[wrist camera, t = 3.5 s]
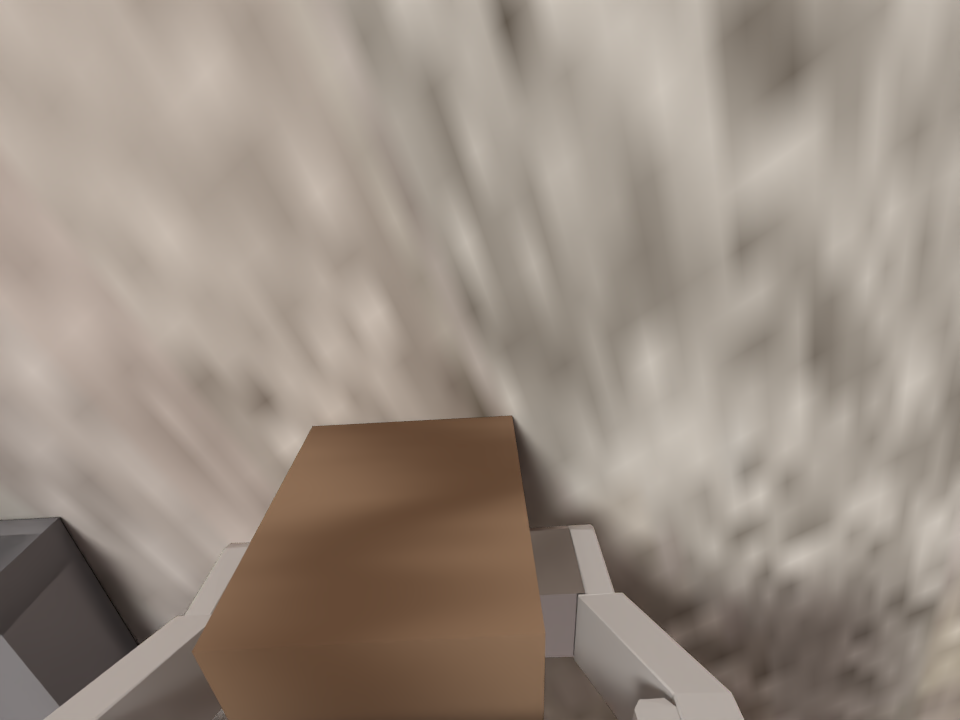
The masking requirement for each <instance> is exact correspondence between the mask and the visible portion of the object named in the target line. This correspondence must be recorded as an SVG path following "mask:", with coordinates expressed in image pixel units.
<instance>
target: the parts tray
mask: <svg viewBox="0 0 960 720" xmlns="http://www.w3.org/2000/svg"><path fill="white" fill-rule="evenodd" d="M137 646H138V645H137V644H136V642H135V640H134V639H133V637H132V635H131V634H130V632H129V631H128V629H127V627H126V626H125V624H124V622H123V621H122V619H121V618H120V616H119V614H118V613H117V611H116V610H115V608H114V606H113V605H112V603H111V601H110V600H109V598H108V597H107V595H106V593H105V592H104V590H103V588H102V587H101V585H100V584H99V582H98V580H97V579H96V577H95V575H94V574H93V572H92V571H91V569H90V567H89V566H88V564H87V563H86V561H85V559H84V558H83V556H82V554H81V553H80V551H79V550H78V548H77V546H76V545H75V543H74V541H73V540H72V538H71V537H70V535H69V533H68V532H67V530H66V528H65V527H64V525H63V524H62V522H61V520H60V519H59V518H40V519H21V520H2V521H0V720H43V719H45V718H46V717H47V716H49V715H50V714H51V713H52V712H54V711H55V710H56V709H58V708H59V707H60V706H61V705H63V704H64V703H65V702H67V701H68V700H69V699H71V698H72V697H73V696H74V695H76V694H77V693H78V692H80V691H81V690H82V689H83V688H85V687H86V686H87V685H89V684H90V683H91V682H92V681H94V680H95V679H96V678H98V677H99V676H100V675H101V674H103V673H104V672H105V671H107V670H108V669H109V668H110V667H112V666H113V665H114V664H116V663H117V662H118V661H119V660H121V659H122V658H123V657H125V656H126V655H127V654H128V653H130V652H131V651H132V650H134V649H135V648H136V647H137Z"/></svg>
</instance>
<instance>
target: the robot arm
mask: <svg viewBox="0 0 960 720" xmlns="http://www.w3.org/2000/svg"><path fill="white" fill-rule="evenodd" d="M529 529H530V536H531V542H532V549H533V555H534V562H535V568H536V575H537V581H538V588H539V594H540V601H541V608H542V614H543V621H544V627H545V657H574V660H575V661H576V663H577V664H578V666H579V667H580V668H581V670H582V671H583V672H584V674H585V675H586V676H587V678H588V679H589V680H590V682H591V683H592V685H593V686H594V687H595V689H596V690H597V691H598V693H599V694H600V695H601V697H602V698H603V699H604V701H605V702H606V704H607V705H608V706H609V708H610V709H611V710H612V712H613V713H614V714H615V716H616V717H617V718H618V720H744V718H743V716H742V714H741V712H740V709H739V707H738V705H737V703H736V701H735V699H734V697H733V695H732V693H731V692H730V691H729V690H728V689H727V688H726V687H725V686H724V685H723V684H722V683H720V682H719V681H718V680H717V679H716V678H715V677H714V676H713V675H712V674H711V673H710V672H709V671H707V670H706V669H705V668H704V667H703V666H702V665H701V664H700V663H699V662H698V661H697V660H695V659H694V658H693V657H692V656H691V655H690V654H689V653H688V652H687V651H686V650H685V649H683V648H682V647H681V646H680V645H679V644H678V643H677V642H676V641H675V640H674V639H673V638H671V637H670V636H669V635H668V634H667V633H666V632H665V631H664V630H663V629H662V628H661V627H659V626H658V625H657V624H656V623H655V622H654V621H653V620H652V619H651V618H650V617H649V616H647V615H646V614H645V613H644V612H643V611H642V610H641V609H640V608H639V607H638V606H637V605H636V604H634V603H633V602H632V601H631V600H630V599H629V598H628V597H627V596H626V595H625V594H624V593H615V591H614V588H613V585H612V582H611V579H610V576H609V573H608V570H607V566H606V563H605V560H604V557H603V554H602V551H601V548H600V545H599V542H598V539H597V536H596V533H595V529H594V527H593V526H592V525H591V524H586V525H569V526H551V527H536V528H529ZM249 544H250V543H231V544H229V545H228V546H227V547H226V548H225V549H224V550H223V551H222V553H221V555H220V556H219V558H218V560H217V561H216V563H215V565H214V566H213V568H212V570H211V571H210V573H209V575H208V576H207V578H206V580H205V581H204V583H203V585H202V586H201V588H200V590H199V591H198V593H197V595H196V596H195V598H194V600H193V601H192V603H191V605H190V607H189V608H188V610H187V612H186V613H185V615H184V616H176V617H175V618H173V619H172V620H171V621H170V622H168V623H167V624H166V625H164V626H163V627H162V628H161V629H159V630H158V631H157V632H155V633H154V634H153V635H152V636H150V637H149V638H148V639H146V640H145V641H144V642H143V643H141V644H140V645H139V646H137V647H136V648H135V649H134V650H132V651H131V652H130V653H128V654H127V655H126V656H125V657H123V658H122V659H121V660H119V661H118V662H117V663H116V664H114V665H113V666H112V667H110V668H109V669H108V670H107V671H105V672H104V673H103V674H101V675H100V676H99V677H98V678H96V679H95V680H94V681H92V682H91V683H90V684H89V685H87V686H86V687H85V688H83V689H82V690H81V691H80V692H78V693H77V694H76V695H74V696H73V697H72V698H71V699H69V700H68V701H67V702H65V703H64V704H63V705H61V706H60V707H59V708H58V709H56V710H55V711H54V712H52V713H51V714H50V715H49V716H47V717H46V718H45V719H43V720H212V719H213V718H214V716H215V715H216V714H217V713H218V712H219V711H220V710H221V708H222V707H221V705H220V704H219V702H218V700H217V698H216V696H215V694H214V692H213V691H212V689H211V687H210V685H209V683H208V681H207V679H206V678H205V676H204V674H203V672H202V670H201V668H200V666H199V665H198V663H197V661H196V659H195V657H194V655H193V653H192V650H193V648H194V647H195V645H196V643H197V641H198V639H199V637H200V635H201V634H202V632H203V630H204V628H205V626H206V624H207V622H208V621H209V619H210V617H211V615H212V613H213V611H214V609H215V607H216V606H217V604H218V602H219V600H220V598H221V596H222V594H223V593H224V591H225V589H226V587H227V585H228V583H229V581H230V579H231V578H232V576H233V574H234V572H235V570H236V568H237V566H238V565H239V563H240V561H241V559H242V557H243V555H244V553H245V552H246V550H247V548H248V546H249Z"/></svg>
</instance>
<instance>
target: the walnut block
mask: <svg viewBox="0 0 960 720" xmlns="http://www.w3.org/2000/svg"><path fill="white" fill-rule="evenodd" d="M192 653H193V655H194V657H195V659H196V661H197V663H198V665H199V666H200V668H201V670H202V672H203V674H204V676H205V678H206V679H207V681H208V683H209V685H210V687H211V689H212V691H213V692H214V694H215V696H216V698H217V700H218V702H219V704H220V705H221V707H222V709H223V711H224V713H225V715H226V717H227V718H228V720H544V677H545V627H544V621H543V614H542V608H541V601H540V594H539V588H538V581H537V575H536V568H535V562H534V555H533V549H532V542H531V536H530V529H529V523H528V516H527V510H526V503H525V497H524V490H523V484H522V477H521V471H520V464H519V458H518V451H517V445H516V438H515V431H514V425H513V418H512V416H497V417H479V418H460V419H441V420H423V421H404V422H386V423H367V424H348V425H330V426H313V427H312V428H311V430H310V432H309V434H308V436H307V438H306V440H305V442H304V443H303V445H302V447H301V449H300V451H299V453H298V455H297V456H296V458H295V460H294V462H293V464H292V466H291V468H290V469H289V471H288V473H287V475H286V477H285V479H284V481H283V483H282V484H281V486H280V488H279V490H278V492H277V494H276V496H275V497H274V499H273V501H272V503H271V505H270V507H269V509H268V511H267V512H266V514H265V516H264V518H263V520H262V522H261V524H260V525H259V527H258V529H257V531H256V533H255V535H254V537H253V538H252V540H251V542H250V544H249V546H248V548H247V550H246V552H245V553H244V555H243V557H242V559H241V561H240V563H239V565H238V566H237V568H236V570H235V572H234V574H233V576H232V578H231V579H230V581H229V583H228V585H227V587H226V589H225V591H224V593H223V594H222V596H221V598H220V600H219V602H218V604H217V606H216V607H215V609H214V611H213V613H212V615H211V617H210V619H209V621H208V622H207V624H206V626H205V628H204V630H203V632H202V634H201V635H200V637H199V639H198V641H197V643H196V645H195V647H194V648H193V650H192Z"/></svg>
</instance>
